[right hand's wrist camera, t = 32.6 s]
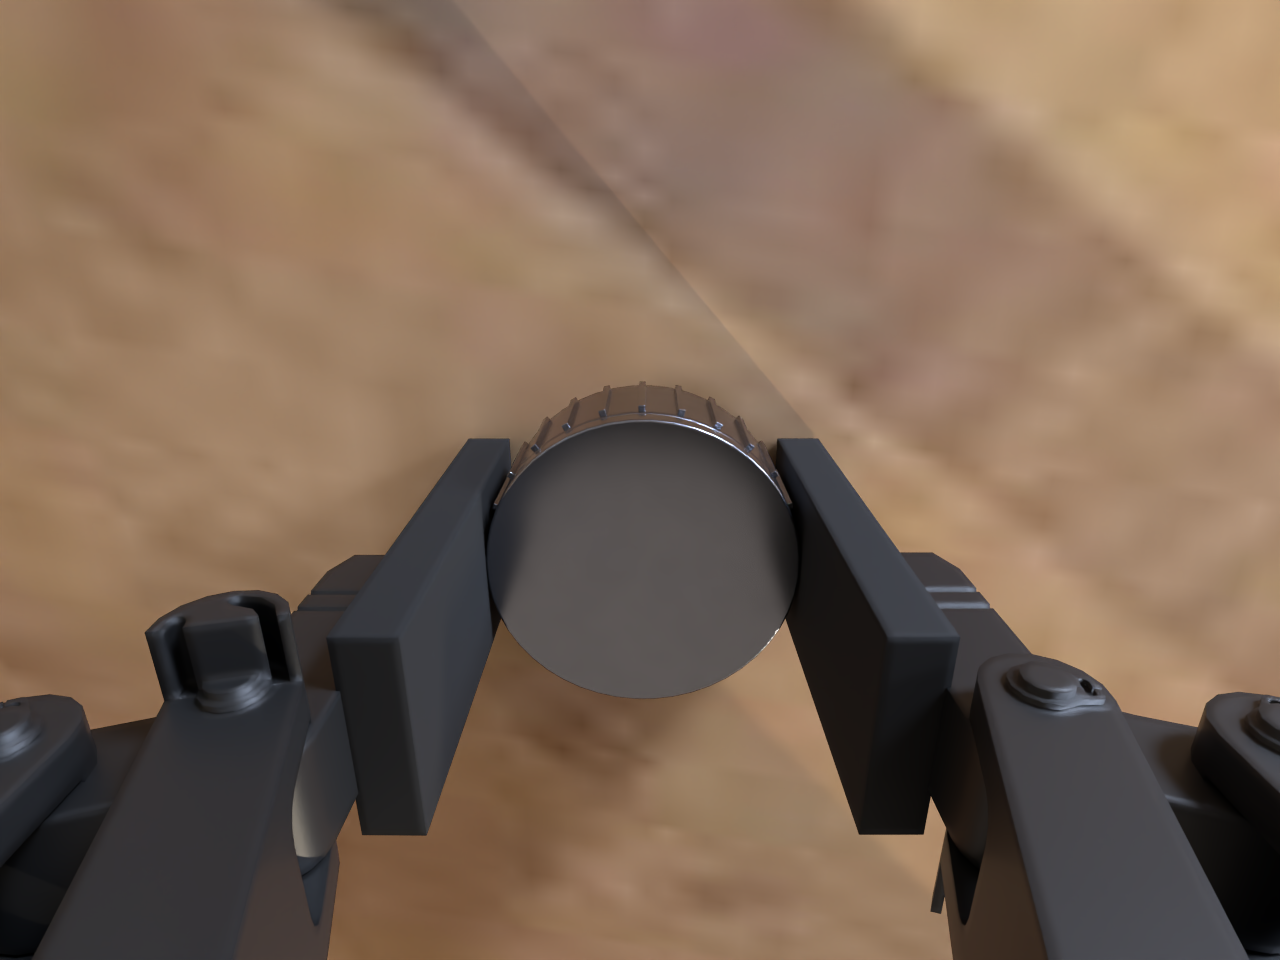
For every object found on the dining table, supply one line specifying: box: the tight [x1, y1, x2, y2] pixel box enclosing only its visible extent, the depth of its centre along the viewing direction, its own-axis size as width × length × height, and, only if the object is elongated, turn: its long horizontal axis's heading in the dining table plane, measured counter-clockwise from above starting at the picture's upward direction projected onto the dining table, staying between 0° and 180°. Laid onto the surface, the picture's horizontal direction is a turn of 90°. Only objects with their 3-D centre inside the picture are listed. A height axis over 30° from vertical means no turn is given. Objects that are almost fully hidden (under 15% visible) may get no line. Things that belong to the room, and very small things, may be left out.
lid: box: [486, 381, 800, 699], centre depth 13 cm, size 5×5×2 cm
